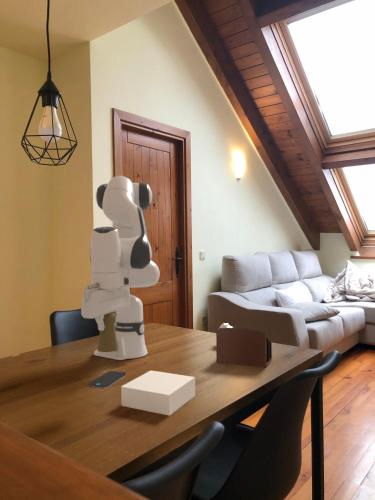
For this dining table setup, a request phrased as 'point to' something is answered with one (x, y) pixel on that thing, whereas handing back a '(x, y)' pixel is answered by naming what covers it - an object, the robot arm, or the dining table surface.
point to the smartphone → (107, 379)
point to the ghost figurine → (225, 325)
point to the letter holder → (243, 346)
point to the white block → (158, 392)
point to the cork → (108, 335)
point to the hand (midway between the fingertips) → (107, 328)
